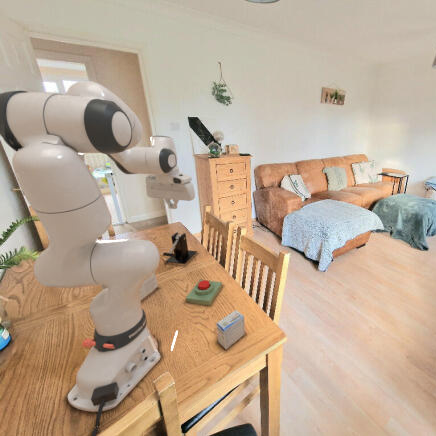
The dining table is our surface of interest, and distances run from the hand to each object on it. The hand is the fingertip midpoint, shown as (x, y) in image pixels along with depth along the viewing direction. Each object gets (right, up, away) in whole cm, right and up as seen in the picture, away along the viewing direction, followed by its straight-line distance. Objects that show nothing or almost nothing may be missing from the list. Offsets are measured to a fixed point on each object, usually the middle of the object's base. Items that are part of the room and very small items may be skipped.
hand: (173, 208), depth 103 cm
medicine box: (+32, -45, -23) cm, 60 cm away
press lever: (-5, -18, +13) cm, 23 cm away
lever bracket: (-5, -25, +20) cm, 32 cm away
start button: (+15, -33, -5) cm, 37 cm away
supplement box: (-13, -36, -6) cm, 39 cm away
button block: (+15, -36, -4) cm, 39 cm away
